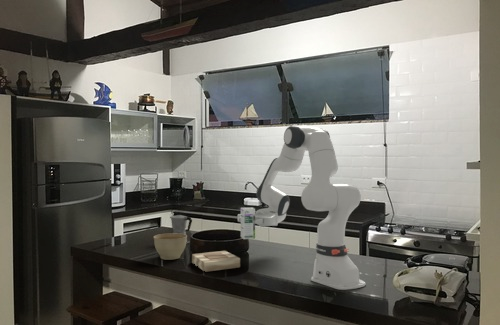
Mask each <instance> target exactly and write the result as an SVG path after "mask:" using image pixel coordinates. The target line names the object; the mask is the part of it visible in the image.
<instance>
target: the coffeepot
mask: <svg viewBox="0 0 500 325" xmlns="http://www.w3.org/2000/svg"><path fill="white" fill-rule="evenodd" d="M181 213H182V211H178V212H177V215H172V216H169V218H170V219H171V220H170V221H171V226H172V227H171V228H172V230H173V231H172V233H177V234H185V235H187V232H189V231H190V229H191V226H192V223H193V219H192V218H191V216H186V215H182V214H181ZM187 222H188V223H187ZM187 224H188V226H187ZM186 228H187V229H186ZM186 242H187V243H188V238H187V239H186Z"/></svg>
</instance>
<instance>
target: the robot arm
mask: <svg viewBox="0 0 500 325" xmlns="http://www.w3.org/2000/svg"><path fill="white" fill-rule="evenodd" d="M283 142H284V143H283V145H282V148H281V152H280V154H279V156H278V157H275V158H273V160H272V161H271V163H270V164H269V166H268V169H267V170H266V173H265V175H264V178H263V179H262V182H261V183H260V185H259V186H258V188H257V189H256V198H257V200H258V201H259V202H261V203H263V204H265V205H267V206H268V207H265V208H260V209H259V208H258V209H257V210H255V220H253V223H254V224H255V225H257V226H259V227H260V228H261V227H263V228H264V227H270V226H272V227H277V226H278V224H279V223H281V222H283V221H284V220H286V217H287V212H288V211H289V208H290V205H291V199H290V196H289V195H287V193H284V192H283V191H281V190H279V189H278V188H276V187H275V186H274V185H273V183H274V180H275V178H276V176H277V174H278V173H279V172H282V173H292V172H295V171H298V170H299V168H300V167H301V165H302V163H303V160H304V156H305V152H306V151H307V152H308V157H309V158H308V159H309V162H310V163H309V164H310V168H311V169H310V170H311V178H310V181H309V182H308V184H307V185H306V186H305V187H304V188H303V190H302V192H301V195H300V196H301V197H300V198H301V203H302V206H303V208H304V209H306V210H308V211H312V212H313V211H314V212H328V213H327V214H328V215H327V216H326V217H325V218H324V219H323V220H321V221H320V222H319V223H318V225H317V232H316V233H317V235H316V237H317V238H316V241H317V243H316V245H315V252H316V256H315V259H314V261H313V263H314V264H313V273H312V276H311V279H310V280H311V281H312V282H314V283H317V284H319V285H320V284H321V285H324V286H327V287H330V288H332V289H335V290H341V291H344V290H347V291H348V290H354V289H359V288H363V287H365V286H366V282H365V281H364V280H362V279H360V272H359V271H360V270H359V268H358V267H357V265H355V263H354V262H353V261H352V260H351V258H350V257H349V255H348V252H350V250H349V249H350V248H347V245H346V244H345V236H346V225H347V222H348V219H349V217H350V215H351V214H352V212H354V210H355V209H357V208H358V206H359V205H360V202H361V200H362V197H361V196H362V195H361V192H360V190H359V188H358V187H357V186H355V185H351V184H346V183H333V184H332V183H331V182H330V178H332V177H334V176H335V174H337V172H338V170H339V165H338V161H337V156H336V152H335V148H334V144H333V142H332V139H331V136H330V133H329V131H328V130H326V129H324V128H320V127H315V126H314V127H313V126H309V125H297V124H296V125H295V124H294V125H290V126H288V127H286V129H285V131H284V134H283ZM237 222H238V223H241V213H238V214H237Z"/></svg>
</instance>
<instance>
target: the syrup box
mask: <svg viewBox="0 0 500 325" xmlns="http://www.w3.org/2000/svg"><path fill="white" fill-rule="evenodd" d="M255 213H256V208H255V207H253V206H252V207H240V214H241V222H240V238H241V239H243V240H253V239H256V224H254V223H253V220H255Z"/></svg>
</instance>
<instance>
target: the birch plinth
mask: <svg viewBox="0 0 500 325" xmlns="http://www.w3.org/2000/svg"><path fill="white" fill-rule="evenodd" d="M191 263H192V264H193V265H194V264H195V265H194V266H196V267H197V266H198V268H199V269H200V270H202V271H203V272H204V271H205V272H206V273H207V272H213V271H214V272H215V271H221V270H229V269H231V270H232V269H236V268H238V269H239V268H241V258H240V257H239V256H237V255H235V254H232V253H231V252H228V251H227V250H220V251H209V252H202V253H201V252H200V253H192V254H191Z"/></svg>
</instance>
